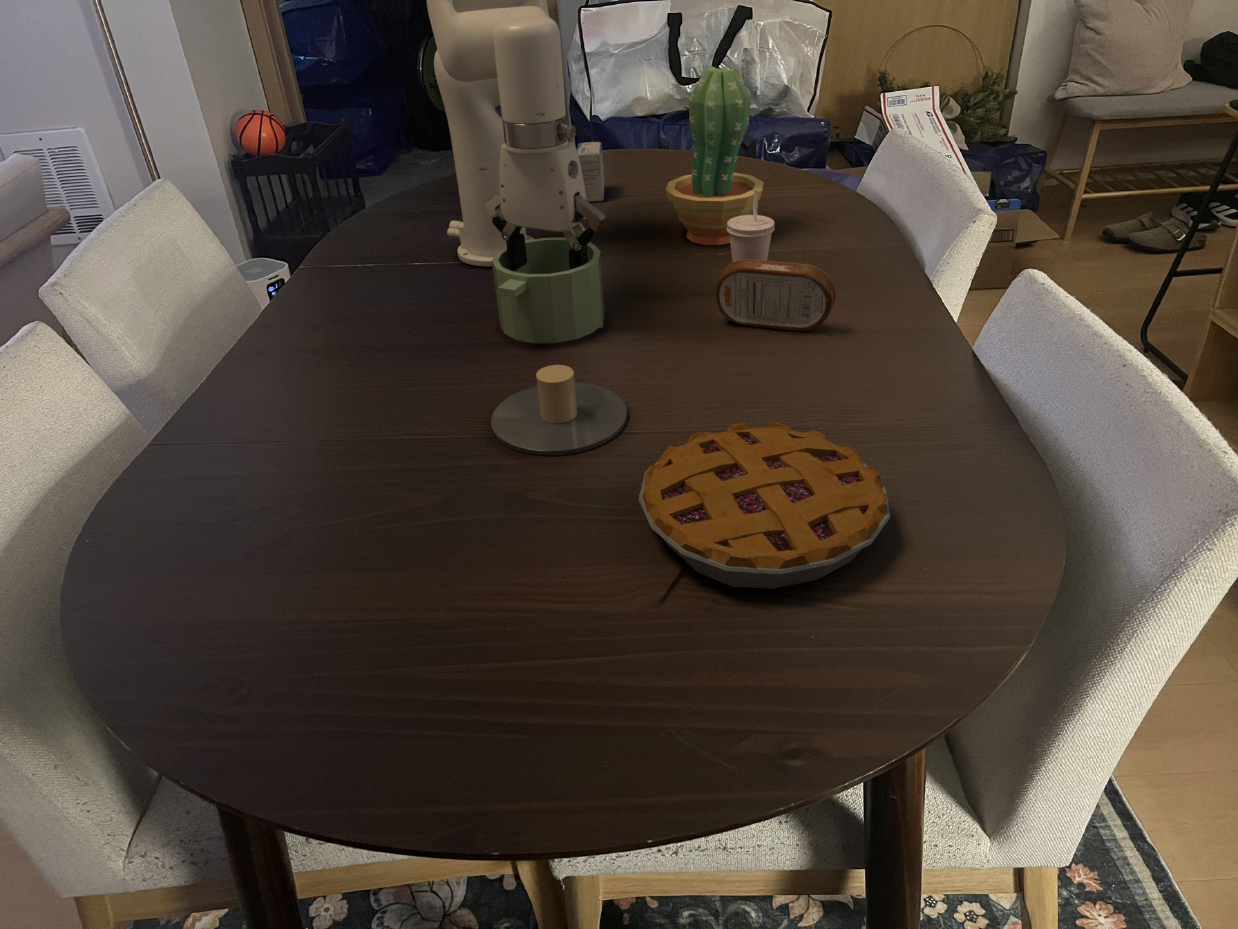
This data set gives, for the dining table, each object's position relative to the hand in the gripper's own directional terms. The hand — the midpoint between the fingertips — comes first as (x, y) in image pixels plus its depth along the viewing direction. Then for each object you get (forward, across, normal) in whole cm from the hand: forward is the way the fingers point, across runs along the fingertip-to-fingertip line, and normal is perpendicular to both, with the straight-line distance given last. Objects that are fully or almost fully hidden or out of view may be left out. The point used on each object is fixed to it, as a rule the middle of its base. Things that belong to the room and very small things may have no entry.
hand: (548, 271), depth 118 cm
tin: (+7, -27, -10) cm, 30 cm away
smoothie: (+7, -20, -20) cm, 29 cm away
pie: (+7, -40, +30) cm, 51 cm away
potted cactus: (+8, -7, -39) cm, 40 cm away
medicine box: (+8, +22, -51) cm, 56 cm away
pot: (+7, 0, 0) cm, 7 cm away
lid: (+6, -14, +22) cm, 27 cm away
